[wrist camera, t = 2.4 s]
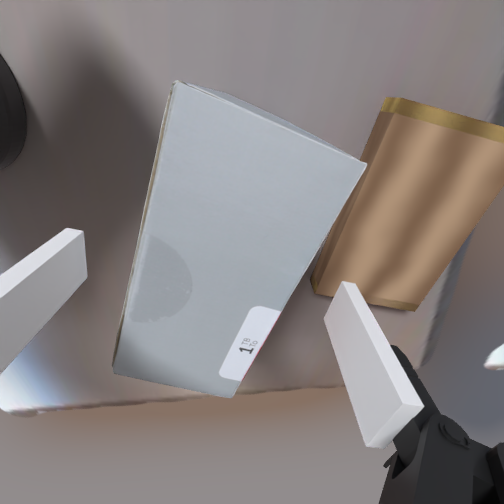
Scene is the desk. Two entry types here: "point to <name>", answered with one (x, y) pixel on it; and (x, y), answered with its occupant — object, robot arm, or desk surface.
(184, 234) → the hard drive box
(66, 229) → the robot arm
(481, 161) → the light brown wooden slab
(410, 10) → the desk surface
